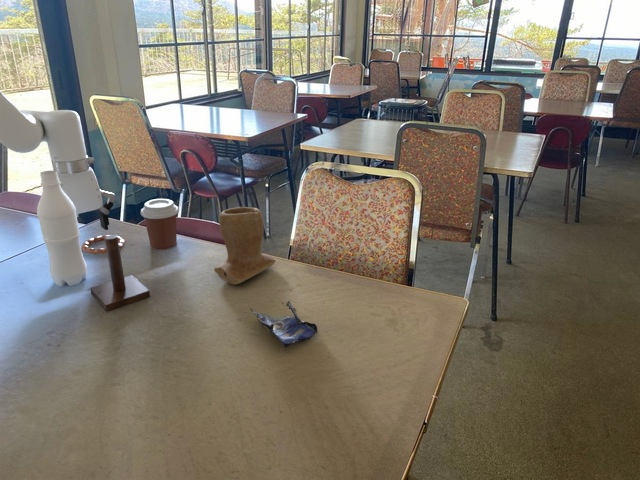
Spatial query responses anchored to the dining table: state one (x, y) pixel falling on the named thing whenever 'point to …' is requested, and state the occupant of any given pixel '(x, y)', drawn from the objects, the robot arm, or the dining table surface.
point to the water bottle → (60, 232)
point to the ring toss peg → (118, 281)
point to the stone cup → (242, 244)
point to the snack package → (287, 327)
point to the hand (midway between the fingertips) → (85, 233)
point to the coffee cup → (160, 222)
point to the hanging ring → (98, 251)
